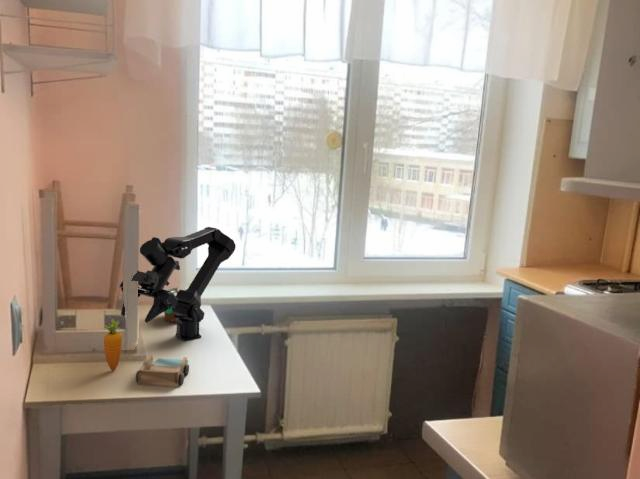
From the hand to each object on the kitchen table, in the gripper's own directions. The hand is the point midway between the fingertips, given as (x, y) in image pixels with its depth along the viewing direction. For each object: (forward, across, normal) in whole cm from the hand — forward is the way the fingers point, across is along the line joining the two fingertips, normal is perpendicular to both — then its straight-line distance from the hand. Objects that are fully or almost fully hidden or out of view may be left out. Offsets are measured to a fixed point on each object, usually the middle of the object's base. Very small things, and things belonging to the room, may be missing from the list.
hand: (133, 318), depth 173 cm
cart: (+10, +13, +9) cm, 18 cm away
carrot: (+15, 0, +4) cm, 16 cm away
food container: (-14, -16, +34) cm, 40 cm away
